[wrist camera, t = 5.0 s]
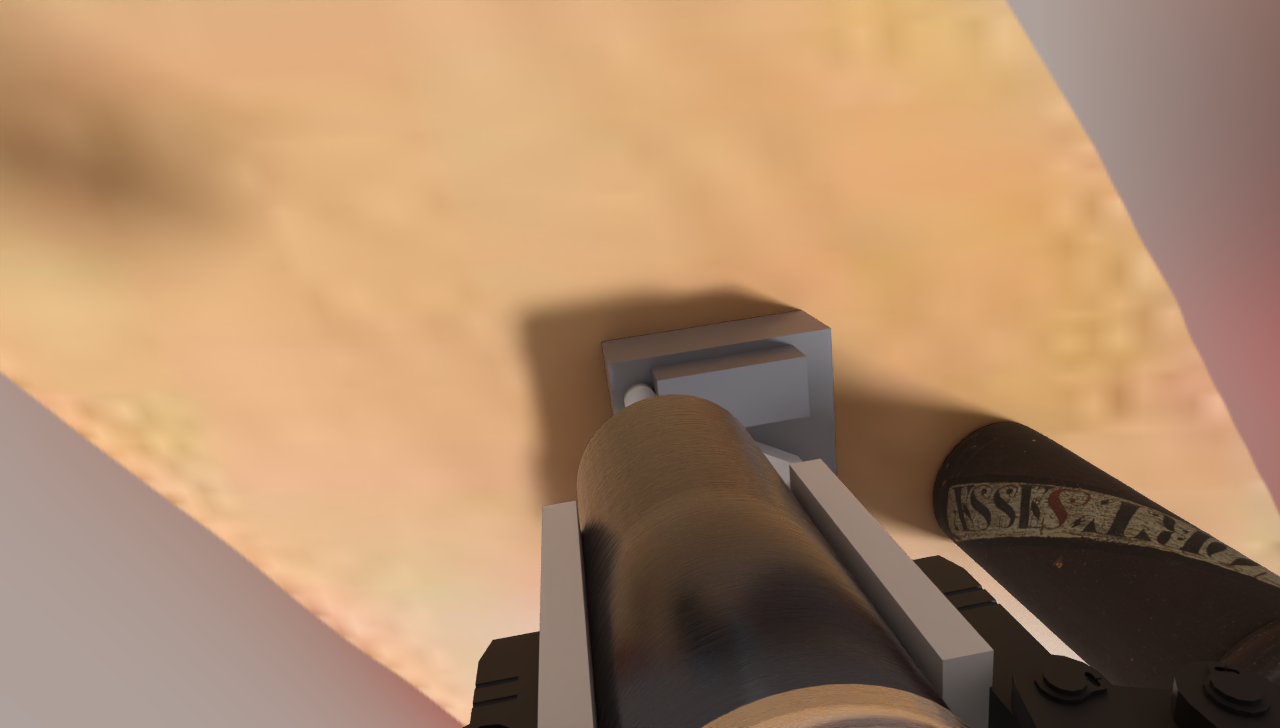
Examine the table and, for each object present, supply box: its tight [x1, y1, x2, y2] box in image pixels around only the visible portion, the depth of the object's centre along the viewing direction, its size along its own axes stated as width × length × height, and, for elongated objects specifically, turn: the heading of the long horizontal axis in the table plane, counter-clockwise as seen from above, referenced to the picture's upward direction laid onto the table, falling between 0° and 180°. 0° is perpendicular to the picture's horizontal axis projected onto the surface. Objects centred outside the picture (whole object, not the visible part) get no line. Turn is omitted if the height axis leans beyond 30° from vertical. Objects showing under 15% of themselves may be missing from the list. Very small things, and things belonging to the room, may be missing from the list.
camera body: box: [602, 310, 837, 490], centre depth 37 cm, size 16×11×6 cm
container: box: [933, 422, 1280, 689], centre depth 33 cm, size 9×9×20 cm
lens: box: [577, 394, 971, 728], centre depth 12 cm, size 5×5×14 cm
